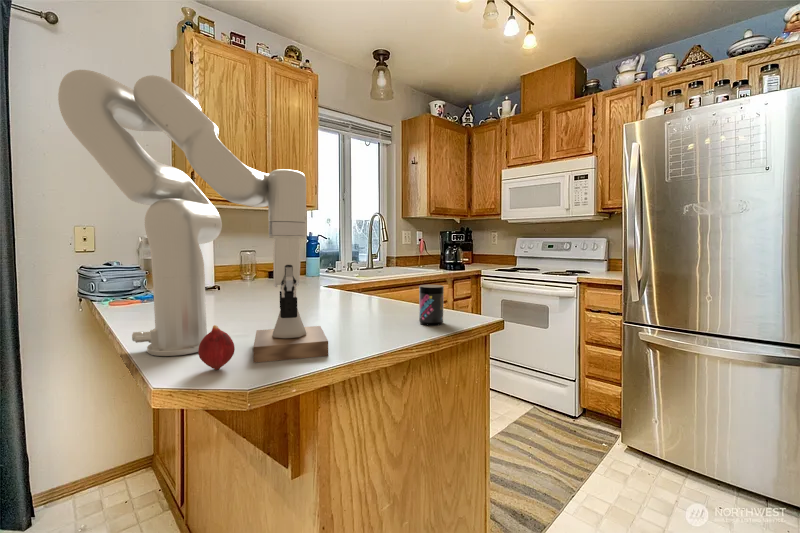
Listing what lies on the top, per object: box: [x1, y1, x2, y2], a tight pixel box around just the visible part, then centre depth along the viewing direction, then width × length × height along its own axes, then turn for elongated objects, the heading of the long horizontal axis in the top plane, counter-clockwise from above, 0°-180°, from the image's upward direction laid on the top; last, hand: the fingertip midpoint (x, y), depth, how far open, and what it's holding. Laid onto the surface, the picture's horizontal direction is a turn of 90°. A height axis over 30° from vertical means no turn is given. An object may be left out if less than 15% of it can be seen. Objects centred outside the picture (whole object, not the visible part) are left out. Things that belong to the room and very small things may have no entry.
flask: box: [272, 287, 307, 338], centre depth 81 cm, size 7×7×10 cm
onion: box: [197, 324, 236, 371], centre depth 69 cm, size 6×6×8 cm
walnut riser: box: [252, 325, 329, 364], centre depth 82 cm, size 14×14×3 cm
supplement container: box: [418, 284, 445, 327], centre depth 106 cm, size 7×7×10 cm
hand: (288, 312), depth 81 cm, fingers open, 9 cm apart
